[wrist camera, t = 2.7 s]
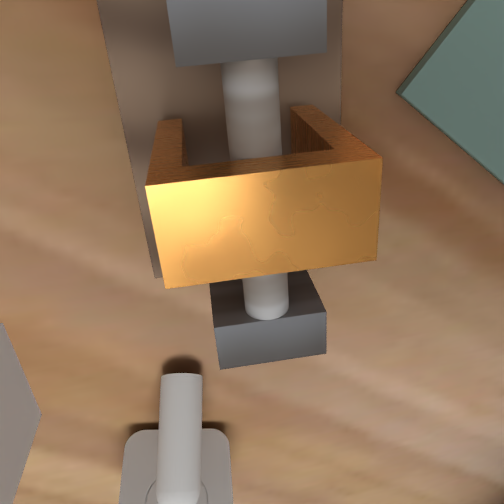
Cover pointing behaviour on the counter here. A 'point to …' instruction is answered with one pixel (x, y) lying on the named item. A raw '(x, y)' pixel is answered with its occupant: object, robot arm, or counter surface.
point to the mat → (466, 83)
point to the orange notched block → (264, 205)
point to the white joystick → (177, 452)
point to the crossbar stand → (230, 128)
